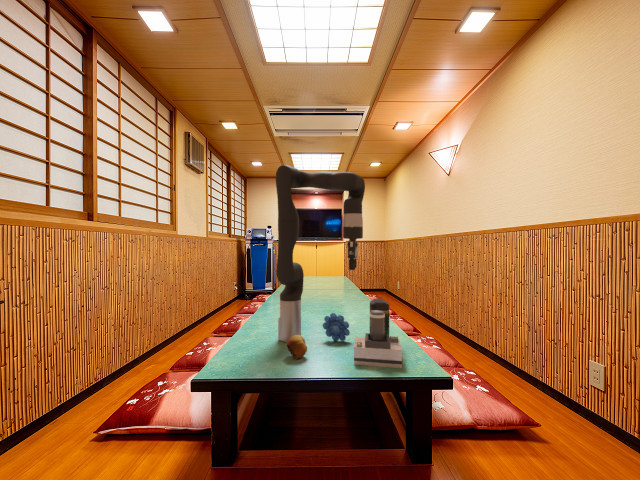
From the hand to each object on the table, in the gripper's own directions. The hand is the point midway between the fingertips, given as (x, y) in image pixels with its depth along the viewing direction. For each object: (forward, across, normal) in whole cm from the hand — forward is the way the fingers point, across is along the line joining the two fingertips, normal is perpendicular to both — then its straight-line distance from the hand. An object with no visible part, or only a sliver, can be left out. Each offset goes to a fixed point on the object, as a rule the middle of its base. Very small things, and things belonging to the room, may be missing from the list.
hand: (352, 268), depth 109 cm
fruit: (+32, +7, -20) cm, 39 cm away
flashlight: (+26, +4, +9) cm, 28 cm away
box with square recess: (+32, +4, +9) cm, 34 cm away
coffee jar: (+32, -12, +10) cm, 36 cm away
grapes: (+32, -12, -8) cm, 35 cm away
